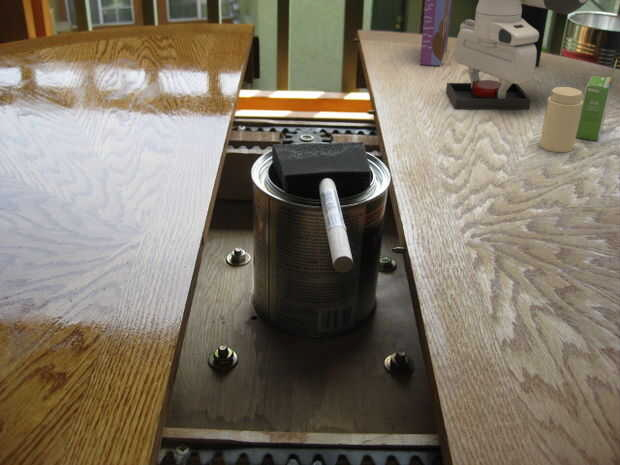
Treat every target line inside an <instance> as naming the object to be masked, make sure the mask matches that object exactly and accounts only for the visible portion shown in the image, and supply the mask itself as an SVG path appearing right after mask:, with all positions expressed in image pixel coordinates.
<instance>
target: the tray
mask: <svg viewBox="0 0 620 465" xmlns="http://www.w3.org/2000/svg"><path fill="white" fill-rule="evenodd" d="M445 88H446V90H445V93H446V95H447V96H448V99H449V101H450V103H451V104H452V107H453V109H454V110H530V107H531V103H532V102H531V101H532V99H531V98H530V97H529V95H528V94H527V93H526V92H525V91H524V89H522V87H521V86H520V84H515V83H512V85H511V86H510V87H509V89H508V90H507V91H506V97H505V99H497V98H495V97H481V96H478V95H475V94H474V93H473V89H471V82H446V87H445Z"/></svg>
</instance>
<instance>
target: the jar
mask: <svg viewBox="0 0 620 465" xmlns="http://www.w3.org/2000/svg"><path fill="white" fill-rule="evenodd" d="M582 98H583V92H582V90H580V89H578V88H574V87H570V86H557V87H554V88H552V89H551V95H550V96H548V97H547V101H546V104H545V105H546V106H545V110H544V111H545V112H544V117H543V123H542V129H541V132H540V133H541V134H540V138H539V139H540V140H539V146H540V148H542V149H543V150H546V151H548V152H554V153H569V151H570V152H572V151H574V148H575V145H576V139H577V137H576V135H577V130H578V125H579V120H580V116H581V111H582V106H583V99H582Z"/></svg>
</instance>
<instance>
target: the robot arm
mask: <svg viewBox="0 0 620 465" xmlns="http://www.w3.org/2000/svg"><path fill="white" fill-rule="evenodd" d="M588 1H589V0H478V2H477V5H476V7H475V15H474V20H473V19H471V18H466V19H465V20H463V21H462V23H461V24H460V27H459V32H458V34H457V37H456V40H455V46H454V51H453V59H454V62H455V63H456V64H459V65H462V66H465V67H468V76H469V79H470V83H471V89H473V85H474V83H475V82H476V81H480V80H481V79H480V73H481V72H482V73H484V74H487V75H490V76H493V77H495V78H498V79H499V82H500V83H501V84H502V85H501V86H500V88H499V89H498V90H495V95H494V97H495V98H497V99H505V97H506V91H507V90H508V89H509V87H510V86H511V85H512V83H515V84H518V85H524V84H527V83H530V82H532V79H533V78H534V76H535V72H536V67H537V66H536V57H537V50H536V46H535V45H534V44H533V43H534V42H537V41H538V38H539V32H538V31H537V30H536V29H534V28H533V27H532V26H530V25H529V24H528V23H527V22H526V21H525V20H524V19H522V18H521V14H522V6H521V4H525V5H529V6H534V7H540V8H545V9H549V10H548V11H551V12H555V13H559V14H562V15H570V14H572V13H574V12H576V11H578V10H580V8H582V7H583V6H584V5H586V4H587V3H588Z"/></svg>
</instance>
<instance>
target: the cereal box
mask: <svg viewBox="0 0 620 465" xmlns="http://www.w3.org/2000/svg"><path fill="white" fill-rule="evenodd" d="M452 3H453V0H424V8H423V9H424V12H423V23H422V35H421V47H420V58H419V66H423V67H425V66H426V67H440V66H441V64H442V61H443V59H444V56H445V54H446V52H447V50H448V43H449V42H448V41H449V34H450V33H449V31H450V22H451V11H452Z"/></svg>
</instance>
